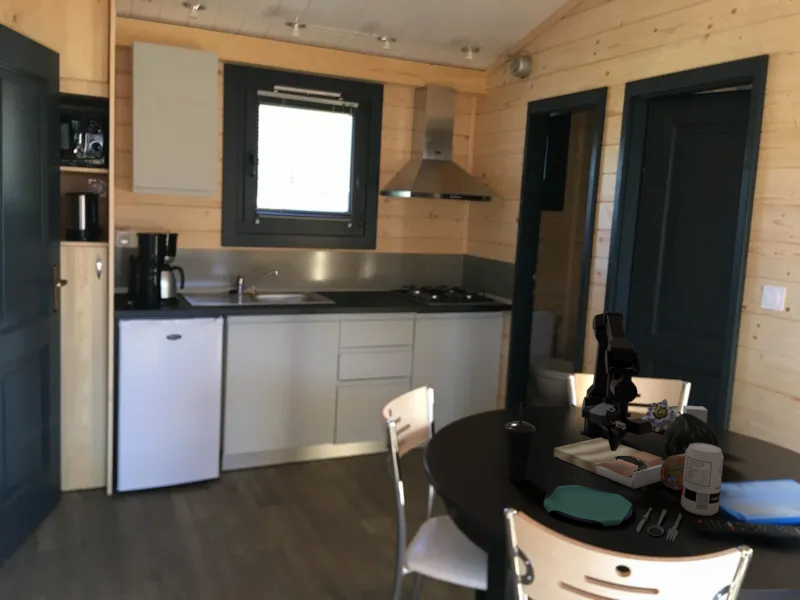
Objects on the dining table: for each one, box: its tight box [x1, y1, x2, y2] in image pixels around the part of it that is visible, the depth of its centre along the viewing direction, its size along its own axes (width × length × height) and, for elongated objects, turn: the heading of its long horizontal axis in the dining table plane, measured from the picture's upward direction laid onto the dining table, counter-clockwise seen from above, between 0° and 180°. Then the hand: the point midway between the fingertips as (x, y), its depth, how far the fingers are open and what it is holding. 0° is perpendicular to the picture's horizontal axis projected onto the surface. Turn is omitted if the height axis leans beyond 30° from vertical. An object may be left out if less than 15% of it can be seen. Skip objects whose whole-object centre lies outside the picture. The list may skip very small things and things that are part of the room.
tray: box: [595, 460, 665, 490], centre depth 190 cm, size 12×20×4 cm, turn 125°
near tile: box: [605, 459, 638, 477], centre depth 188 cm, size 6×6×2 cm
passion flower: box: [640, 398, 682, 433], centre depth 231 cm, size 11×11×12 cm
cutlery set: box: [543, 484, 683, 542], centre depth 163 cm, size 20×30×2 cm, turn 60°
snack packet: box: [660, 453, 685, 491], centre depth 182 cm, size 15×3×8 cm, turn 117°
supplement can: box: [680, 443, 725, 516], centre depth 167 cm, size 8×8×15 cm
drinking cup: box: [504, 401, 536, 482], centre depth 182 cm, size 8×8×20 cm
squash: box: [662, 412, 720, 458], centre depth 200 cm, size 14×15×15 cm
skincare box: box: [682, 405, 708, 424], centre depth 215 cm, size 6×4×12 cm
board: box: [553, 437, 642, 474], centre depth 201 cm, size 15×20×2 cm
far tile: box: [630, 451, 663, 468], centre depth 195 cm, size 6×6×2 cm
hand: (613, 450), depth 189 cm, fingers closed
